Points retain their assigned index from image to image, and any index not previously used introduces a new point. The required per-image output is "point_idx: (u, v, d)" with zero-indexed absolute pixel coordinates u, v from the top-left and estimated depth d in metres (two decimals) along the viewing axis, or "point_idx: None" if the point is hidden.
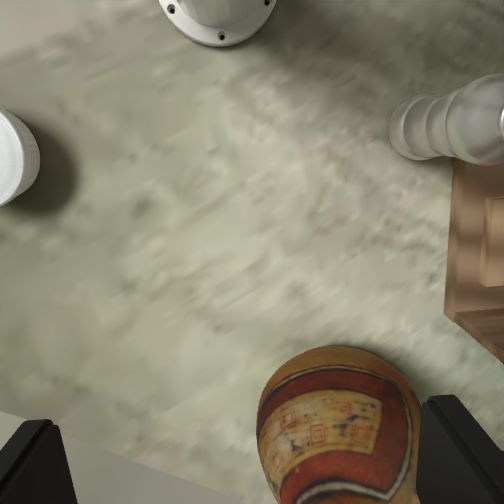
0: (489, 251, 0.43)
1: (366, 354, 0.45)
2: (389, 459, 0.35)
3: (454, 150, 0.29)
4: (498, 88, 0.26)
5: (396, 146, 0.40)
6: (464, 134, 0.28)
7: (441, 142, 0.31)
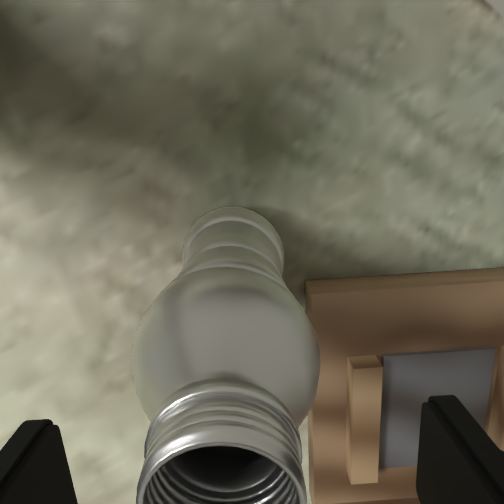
0: (353, 437, 0.28)
1: None
2: None
3: None
4: (182, 340, 0.10)
5: None
6: (144, 410, 0.12)
7: None
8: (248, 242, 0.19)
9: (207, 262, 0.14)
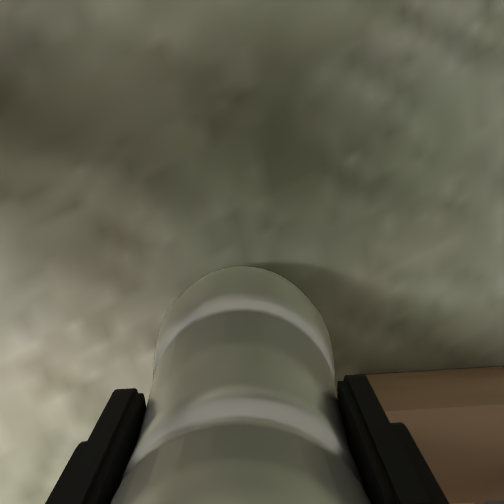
0: None
1: None
2: None
3: None
4: None
5: None
6: None
7: None
8: (281, 387, 0.08)
9: None
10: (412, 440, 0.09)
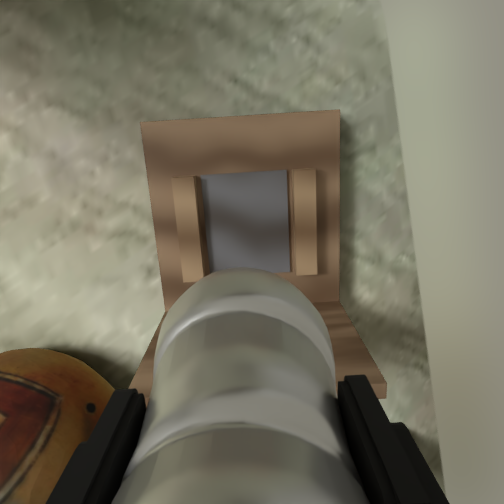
0: (179, 240, 0.36)
1: (52, 359, 0.38)
2: None
3: None
4: None
5: None
6: None
7: None
8: (281, 390, 0.08)
9: None
10: (412, 440, 0.09)
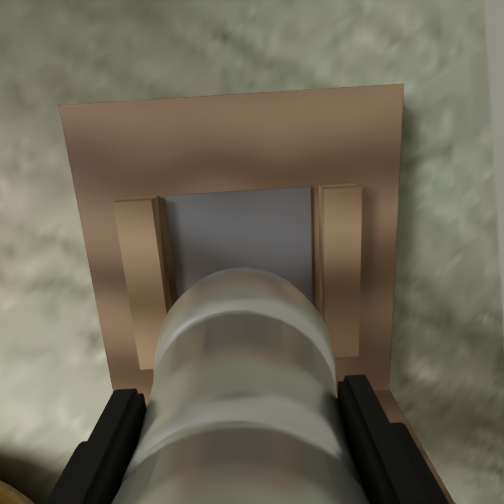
0: (131, 303, 0.22)
1: None
2: None
3: None
4: None
5: None
6: None
7: None
8: (281, 390, 0.08)
9: None
10: (412, 440, 0.09)
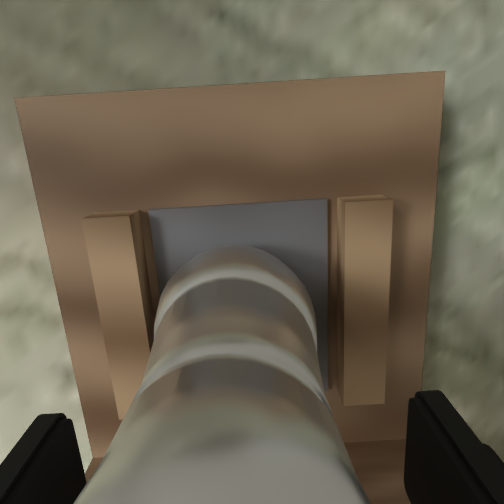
0: (107, 341, 0.18)
1: None
2: None
3: None
4: None
5: None
6: None
7: None
8: (264, 336, 0.10)
9: (166, 464, 0.05)
10: (502, 465, 0.08)
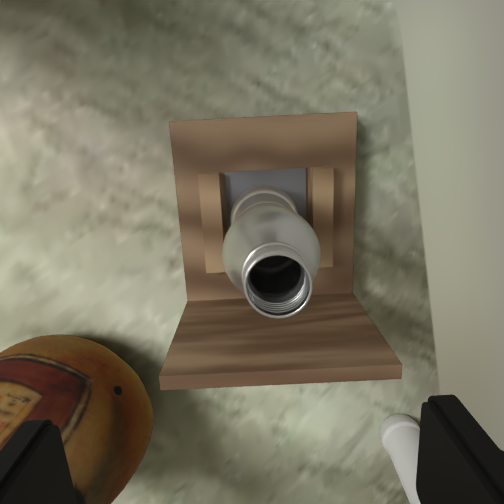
0: (204, 233, 0.38)
1: (80, 344, 0.41)
2: None
3: None
4: (254, 231, 0.22)
5: None
6: (230, 274, 0.24)
7: None
8: (278, 203, 0.30)
9: None
10: None
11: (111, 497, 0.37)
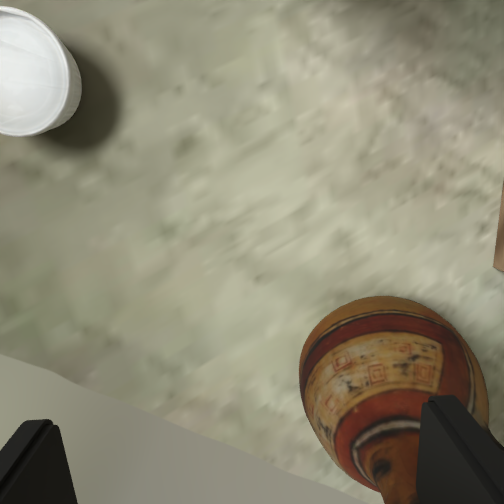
0: None
1: (416, 303, 0.43)
2: None
3: None
4: None
5: None
6: None
7: None
8: None
9: None
10: None
11: None
